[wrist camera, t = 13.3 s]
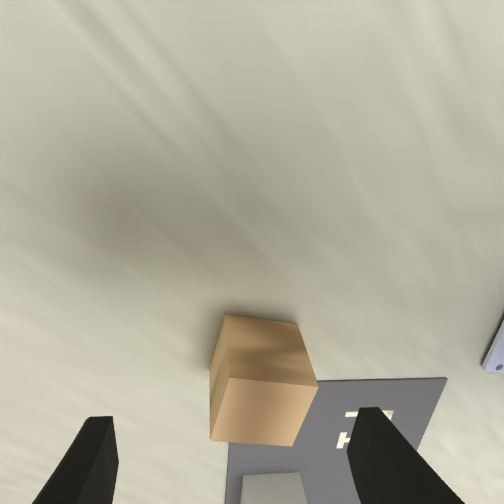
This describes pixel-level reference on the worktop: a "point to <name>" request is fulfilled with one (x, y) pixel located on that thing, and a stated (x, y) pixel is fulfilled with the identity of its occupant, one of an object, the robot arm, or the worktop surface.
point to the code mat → (335, 436)
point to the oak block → (259, 382)
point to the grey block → (273, 489)
